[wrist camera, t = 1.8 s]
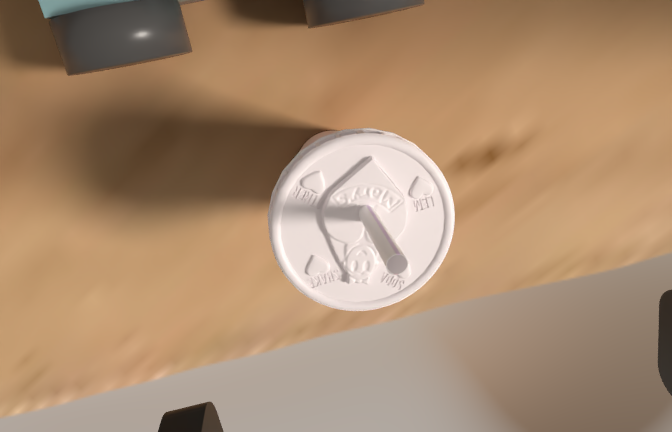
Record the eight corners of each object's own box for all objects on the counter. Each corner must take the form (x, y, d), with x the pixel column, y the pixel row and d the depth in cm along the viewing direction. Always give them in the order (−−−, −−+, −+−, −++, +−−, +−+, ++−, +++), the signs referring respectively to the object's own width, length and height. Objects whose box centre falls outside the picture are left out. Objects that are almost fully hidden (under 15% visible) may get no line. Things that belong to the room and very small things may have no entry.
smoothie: (399, 108, 25) (539, 167, 12) (385, 227, 27) (491, 392, 14) (272, 98, 24) (271, 150, 11) (266, 222, 26) (260, 393, 13)
